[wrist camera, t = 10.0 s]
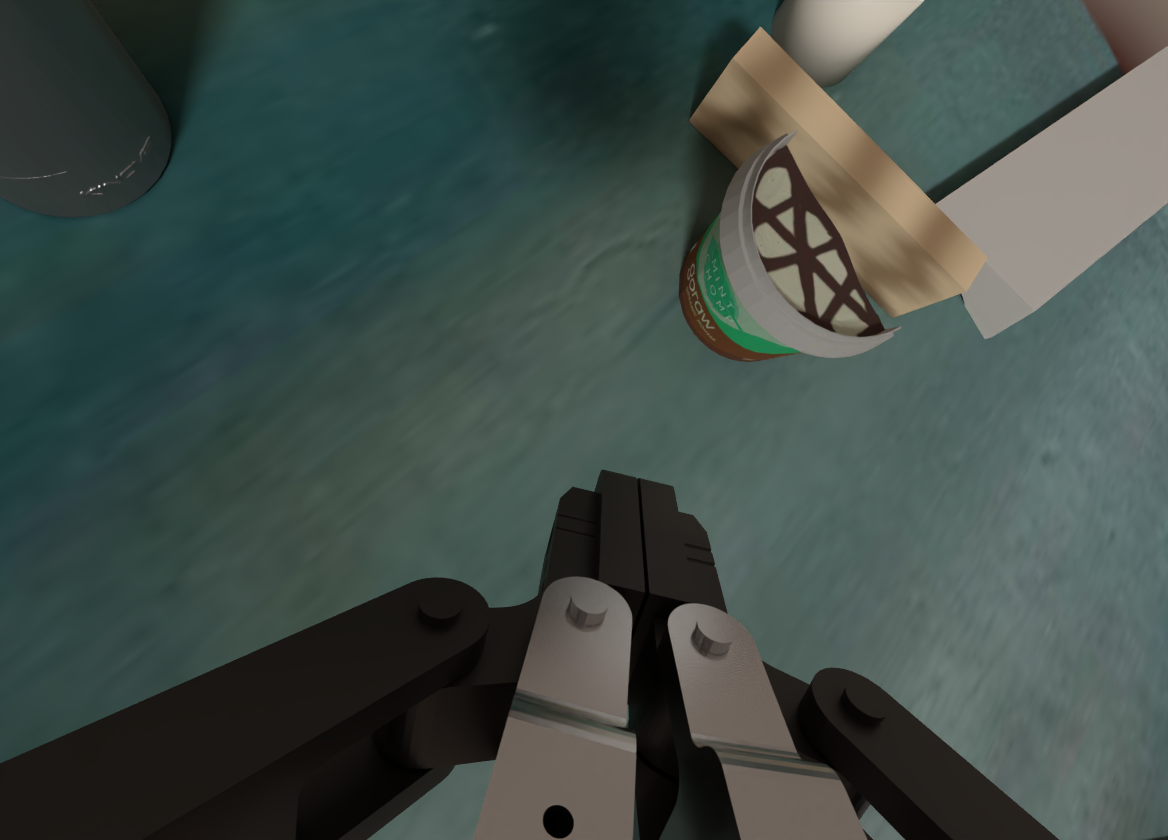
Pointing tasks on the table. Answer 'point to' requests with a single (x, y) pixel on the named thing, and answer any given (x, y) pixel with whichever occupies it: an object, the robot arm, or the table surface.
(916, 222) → the light wooden block
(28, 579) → the table surface
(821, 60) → the glossy white cylinder
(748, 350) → the food container
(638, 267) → the table surface
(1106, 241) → the grey long flat block
